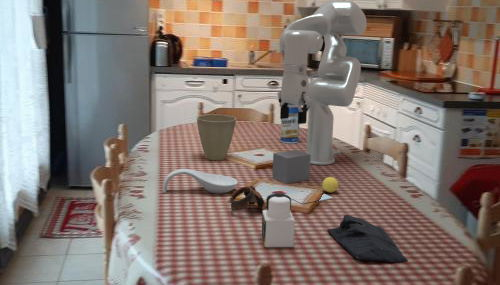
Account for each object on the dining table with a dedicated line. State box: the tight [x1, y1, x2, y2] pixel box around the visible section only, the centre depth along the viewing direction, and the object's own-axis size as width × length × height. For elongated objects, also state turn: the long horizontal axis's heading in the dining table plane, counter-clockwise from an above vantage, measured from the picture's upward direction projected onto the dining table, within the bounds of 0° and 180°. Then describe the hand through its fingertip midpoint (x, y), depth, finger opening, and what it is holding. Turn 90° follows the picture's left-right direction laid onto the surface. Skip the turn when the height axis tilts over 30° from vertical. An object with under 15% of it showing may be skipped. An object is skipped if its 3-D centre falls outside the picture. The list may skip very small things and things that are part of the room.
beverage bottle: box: [280, 104, 300, 145], centre depth 246 cm, size 8×8×20 cm
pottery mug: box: [229, 185, 266, 212], centre depth 161 cm, size 12×10×8 cm
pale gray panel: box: [318, 193, 334, 202], centre depth 174 cm, size 12×10×1 cm
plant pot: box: [196, 113, 237, 161], centre depth 215 cm, size 15×15×16 cm
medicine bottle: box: [261, 192, 296, 248], centre depth 138 cm, size 7×7×12 cm
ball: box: [322, 176, 339, 194], centre depth 179 cm, size 5×5×5 cm
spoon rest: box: [162, 168, 239, 195], centre depth 177 cm, size 24×12×7 cm, turn 98°
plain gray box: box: [272, 149, 311, 184], centre depth 192 cm, size 10×8×9 cm
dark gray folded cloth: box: [327, 214, 409, 263], centre depth 139 cm, size 15×22×5 cm
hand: (292, 121), depth 188 cm, fingers open, 9 cm apart
